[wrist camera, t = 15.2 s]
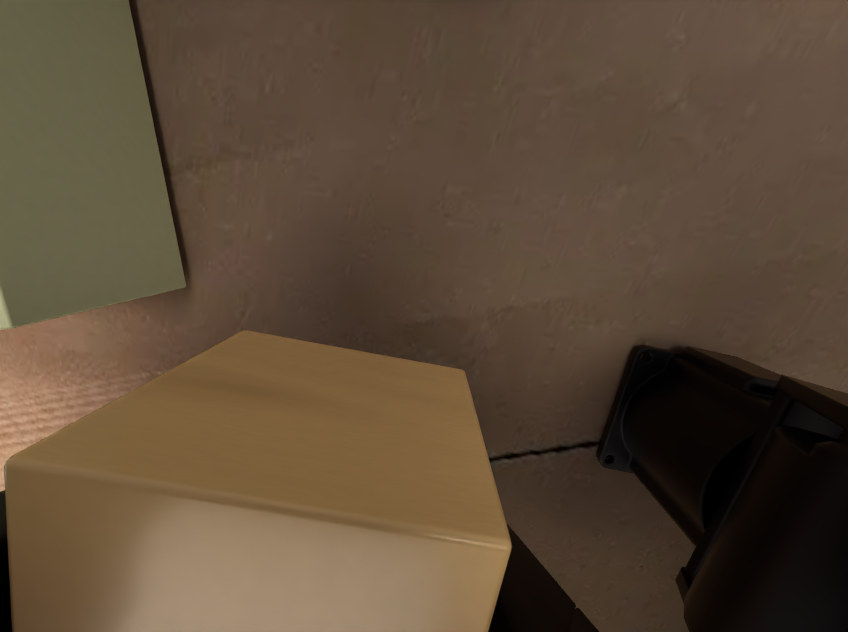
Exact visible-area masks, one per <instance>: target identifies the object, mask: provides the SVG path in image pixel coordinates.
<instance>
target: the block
mask: <svg viewBox="0 0 848 632" xmlns="http://www.w3.org/2000/svg"><path fill="white" fill-rule="evenodd" d="M4 477H5V498H6V518H7V539H8V559H9V579H10V600H11V620H12V632H488V630H489V627H490V623H491V620H492V616H493V613H494V609H495V605H496V602H497V598H498V595H499V591H500V588H501V584H502V580H503V577H504V573H505V570H506V566H507V563H508V559H509V556H510V552H511V548H512V544H511V539H510V535H509V532H508V528H507V524H506V521H505V517H504V513H503V510H502V506H501V502H500V499H499V495H498V491H497V488H496V484H495V480H494V477H493V473H492V469H491V465H490V462H489V458H488V454H487V451H486V447H485V443H484V440H483V436H482V432H481V429H480V425H479V421H478V418H477V414H476V410H475V407H474V403H473V399H472V396H471V392H470V388H469V385H468V381H467V377H466V374H465V371H463V370H461V369H456V368H450V367H445V366H439V365H434V364H428V363H423V362H417V361H412V360H406V359H401V358H395V357H390V356H384V355H379V354H373V353H368V352H362V351H357V350H351V349H346V348H340V347H335V346H329V345H324V344H318V343H313V342H307V341H302V340H296V339H291V338H285V337H280V336H274V335H269V334H263V333H258V332H252V331H247V330H244V331H241V332H239V333H237V334H235V335H233V336H232V337H230V338H228V339H226V340H224V341H222V342H221V343H219V344H217V345H215V346H213V347H211V348H210V349H208V350H206V351H204V352H202V353H200V354H199V355H197V356H195V357H193V358H191V359H189V360H188V361H186V362H184V363H182V364H180V365H178V366H176V367H175V368H173V369H171V370H169V371H167V372H165V373H164V374H162V375H160V376H158V377H156V378H154V379H153V380H151V381H149V382H147V383H145V384H143V385H142V386H140V387H138V388H136V389H134V390H132V391H131V392H129V393H127V394H125V395H123V396H121V397H120V398H118V399H116V400H114V401H112V402H110V403H108V404H107V405H105V406H103V407H101V408H99V409H97V410H96V411H94V412H92V413H90V414H88V415H86V416H85V417H83V418H81V419H79V420H77V421H75V422H74V423H72V424H70V425H68V426H66V427H64V428H63V429H61V430H59V431H57V432H55V433H53V434H52V435H50V436H48V437H46V438H44V439H42V440H40V441H39V442H37V443H35V444H33V445H31V446H29V447H28V448H26V449H24V450H22V451H20V452H18V453H17V454H15V455H13V456H11V457H10V458H9V459H8V460H7V461H6V463H5V466H4Z"/></svg>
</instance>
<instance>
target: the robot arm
mask: <svg viewBox="0 0 848 632" xmlns="http://www.w3.org/2000/svg"><path fill="white" fill-rule="evenodd" d="M643 353H647V356H646V358H645V359H643V360H641V355H642V354H643ZM607 455H611V457H610V458H608V459H605V457H606V456H607ZM596 457H597V460H598V461H599V462H600V464H601V465H602V466H603V467H605V468H609V469H614V470H619V471H624V472H629V473H634V475H635V476H636V477H637V478H638V479H639V480H640V482H641V483H642V484H643V485H644V486H645V487H646V489H647V490H648V491H649V492H650V493H651V495H652V496H653V497H654V498H655V499H656V500H657V502H658V503H659V504H660V505H661V506H662V508H663V509H664V510H665V511H666V512H667V513H668V515H669V516H670V517H671V518H672V519H673V521H674V522H675V523H676V524H677V525H678V526H679V528H680V529H681V530H682V531H683V532H684V533H685V535H686V536H687V537H688V538H689V539H690V541H691V542H692V543H693V544H694V545H695V546H696V548H695V550H694V552H693V554H692V556H691V558H690V560H689V562H688V564H687V566H686V567H682V568H681V569H680V571H679V573H678V575H677V577H676V583H677V586H678V588H679V591H680V594H681V597H682V600H683V603H684V619H685V622H686V624H687V627H688V629H689V632H848V394H847V393H843V392H840V391H836V390H833V389H829V388H826V387H823V386H819V385H816V384H812V383H809V382H805V381H802V380H798V379H795V378H792V377H788V376H785V375H779V374H777V373H774V372H772V371H769V370H767V369H764V368H762V367H760V366H757V365H755V364H752V363H750V362H747V361H745V360H743V359H740V358H738V357H734V356H730V355H725V354H721V353H716V352H711V351H707V350H702V349H697V348H693V347H686V348H684V349H682V350H681V352H680V353H679V352H674V351H669V350H665V349H660V348H655V347H651V346H646V345H640V346H637V347H636V348H635V349H633V351H632V353H631V356H630V359H629V362H628V364H627V367H626V370H625V373H624V376H623V379H622V382H621V385H620V388H619V390H618V393H617V396H616V399H615V402H614V405H613V408H612V411H611V413H610V416H609V419H608V422H607V425H606V428H605V431H604V434H603V436H602V439H601V442H600V445H599V448H598V451H597V455H596ZM506 524H507V523H506ZM507 528H508V532H509V535H510V539H511V544H512V548H511V552H510V556H509V559H508V563H507V566H506V570H505V573H504V577H503V580H502V584H501V588H500V591H499V595H498V598H497V602H496V605H495V609H494V613H493V616H492V620H491V623H490V627H489V630H488V632H599V631H598V630H597V629H596V628H595V626H594V625H593V624H592V623H591V622H590V621H589V619H588V618H587V617H586V616H585V615H584V613H583V612H582V611H581V610H580V609H579V608H576V609H575V607H576V605H575V603H574V602H573V601H572V600H571V598H570V597H569V596H568V595H567V594H566V593H565V591H564V590H563V589H562V588H561V587H560V585H559V584H558V583H557V582H556V581H555V580H554V578H553V577H552V576H551V575H550V574H549V572H548V571H547V570H546V569H545V568H544V567H543V565H542V564H541V563H540V562H539V561H538V560H537V558H536V557H535V556H534V555H533V554H532V552H531V551H530V550H529V549H528V548H527V547H526V545H525V544H524V543H523V542H522V541H521V540H520V538H519V537H518V536H517V535H516V534H515V532H514V531H513V530H512V529H511V528H510V527H509V525H508V524H507ZM0 632H12V620H11V600H10V579H9V559H8V539H7V518H6V498H5V490H4V491H1V492H0Z"/></svg>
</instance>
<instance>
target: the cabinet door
mask: <svg viewBox="0 0 848 632" xmlns="http://www.w3.org/2000/svg"><path fill="white" fill-rule="evenodd" d="M185 287H186V282H185V277H184V272H183V267H182V262H181V257H180V252H179V248H178V243H177V238H176V233H175V228H174V223H173V218H172V213H171V208H170V203H169V198H168V193H167V188H166V183H165V178H164V173H163V168H162V163H161V158H160V153H159V149H158V144H157V139H156V134H155V129H154V124H153V119H152V114H151V109H150V104H149V99H148V94H147V89H146V84H145V79H144V74H143V69H142V64H141V59H140V54H139V49H138V45H137V40H136V35H135V30H134V25H133V20H132V15H131V10H130V5H129V0H0V329H12V328H16V327H20V326H25V325H29V324H33V323H37V322H42V321H46V320H50V319H54V318H59V317H63V316H67V315H71V314H75V313H80V312H84V311H88V310H92V309H97V308H101V307H105V306H109V305H114V304H118V303H122V302H126V301H131V300H135V299H139V298H143V297H147V296H152V295H156V294H160V293H164V292H169V291H173V290H177V289H181V288H185Z"/></svg>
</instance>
